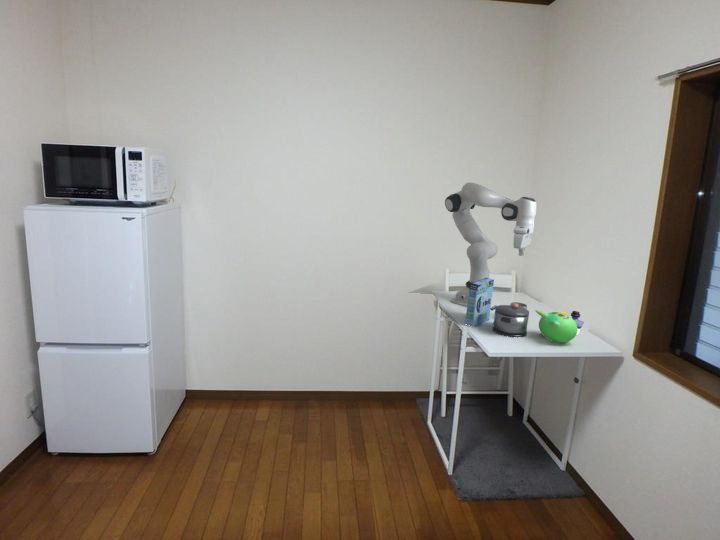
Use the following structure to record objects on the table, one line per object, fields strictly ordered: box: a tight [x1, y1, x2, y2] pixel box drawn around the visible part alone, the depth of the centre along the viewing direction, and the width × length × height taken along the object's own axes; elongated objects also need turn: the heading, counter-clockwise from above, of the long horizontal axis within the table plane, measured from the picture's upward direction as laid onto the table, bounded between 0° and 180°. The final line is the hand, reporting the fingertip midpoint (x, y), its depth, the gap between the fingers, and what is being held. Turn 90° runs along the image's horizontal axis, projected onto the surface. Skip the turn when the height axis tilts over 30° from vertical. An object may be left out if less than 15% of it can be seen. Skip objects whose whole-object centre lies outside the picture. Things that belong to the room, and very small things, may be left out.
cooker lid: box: [490, 302, 530, 318], centre depth 222 cm, size 18×16×4 cm
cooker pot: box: [492, 311, 530, 338], centre depth 223 cm, size 17×21×10 cm
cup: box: [509, 301, 528, 310], centre depth 240 cm, size 8×8×10 cm
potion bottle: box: [570, 310, 584, 336], centre depth 225 cm, size 9×9×12 cm
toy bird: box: [534, 309, 578, 343], centre depth 213 cm, size 18×17×15 cm
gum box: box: [464, 277, 495, 327], centre depth 234 cm, size 20×5×23 cm, turn 139°
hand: (520, 255), depth 230 cm, fingers closed
